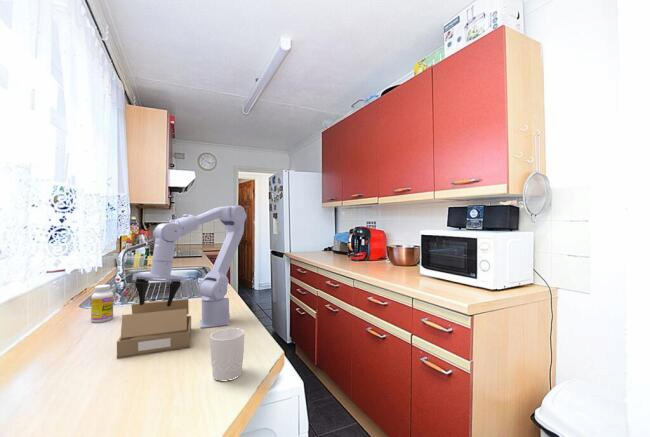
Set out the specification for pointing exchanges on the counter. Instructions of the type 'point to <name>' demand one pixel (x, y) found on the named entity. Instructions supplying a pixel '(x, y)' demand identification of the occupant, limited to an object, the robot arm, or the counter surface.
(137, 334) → the near flap
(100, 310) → the supplement bottle
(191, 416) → the counter surface
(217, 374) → the white cup
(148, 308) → the far flap
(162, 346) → the carton
